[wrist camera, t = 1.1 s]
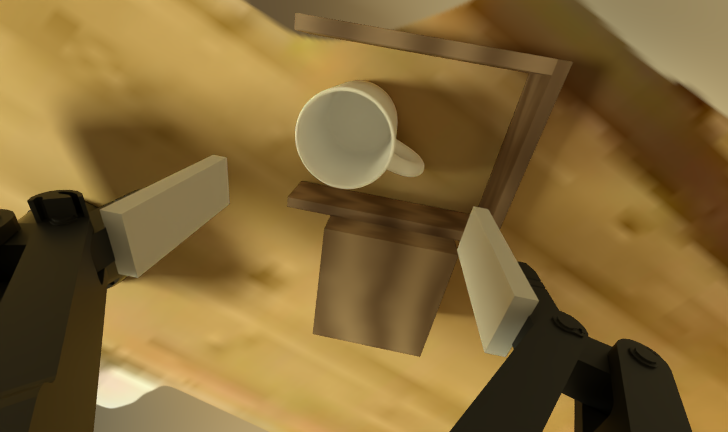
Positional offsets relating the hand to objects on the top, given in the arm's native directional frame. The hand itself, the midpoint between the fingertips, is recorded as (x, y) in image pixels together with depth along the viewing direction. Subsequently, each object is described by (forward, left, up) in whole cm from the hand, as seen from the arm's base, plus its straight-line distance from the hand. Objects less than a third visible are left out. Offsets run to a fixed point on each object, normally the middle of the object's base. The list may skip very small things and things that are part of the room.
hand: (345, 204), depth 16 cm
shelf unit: (+3, -8, -20) cm, 22 cm away
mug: (0, 0, -20) cm, 20 cm away
